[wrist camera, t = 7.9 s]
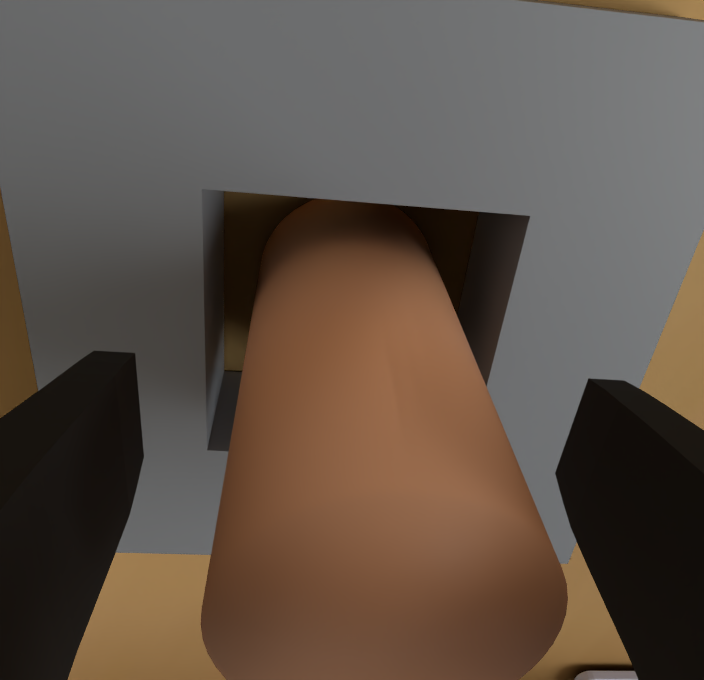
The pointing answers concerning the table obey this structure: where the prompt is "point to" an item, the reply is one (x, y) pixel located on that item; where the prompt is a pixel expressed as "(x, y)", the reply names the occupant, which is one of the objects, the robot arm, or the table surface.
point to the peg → (371, 477)
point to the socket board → (347, 194)
